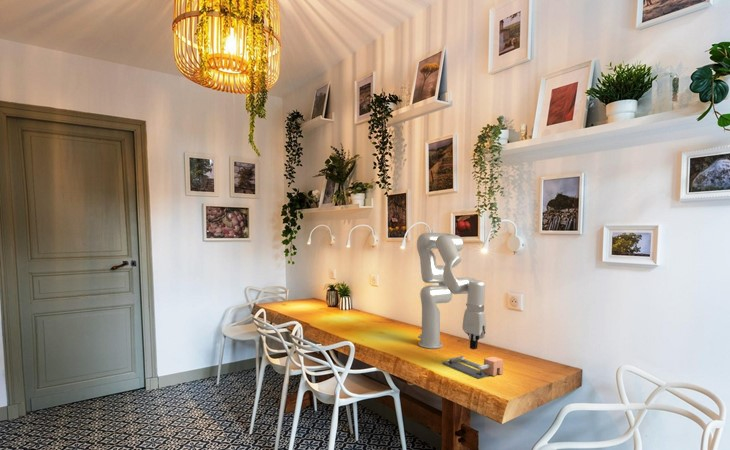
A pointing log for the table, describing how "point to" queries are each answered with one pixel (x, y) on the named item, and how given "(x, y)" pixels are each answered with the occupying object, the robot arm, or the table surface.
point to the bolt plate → (466, 369)
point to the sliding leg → (492, 366)
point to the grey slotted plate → (464, 361)
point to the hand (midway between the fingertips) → (473, 348)
